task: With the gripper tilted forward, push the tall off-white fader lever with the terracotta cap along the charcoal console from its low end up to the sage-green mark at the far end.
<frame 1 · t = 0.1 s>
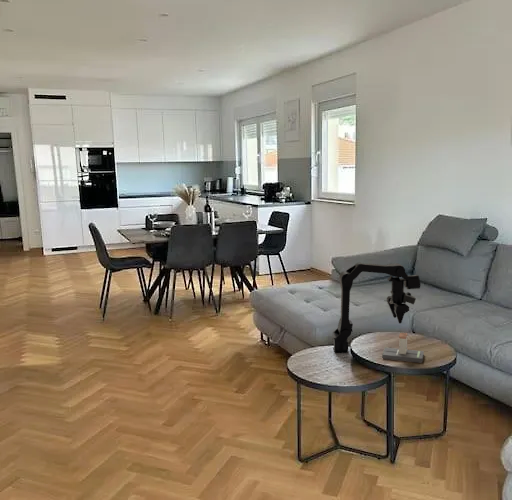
hand: (397, 320, 244), 14 cm above the table, tool pointing down, fingers open, 9 cm apart
fader: (403, 343, 235), point 7 cm above the table, slide at 0.0 cm
console: (400, 356, 236), on the table
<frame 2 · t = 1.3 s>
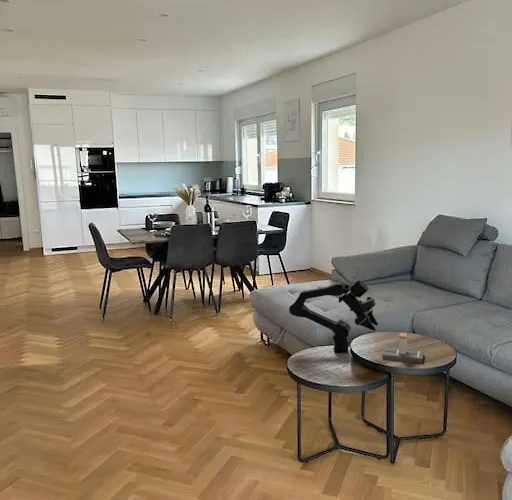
hand: (376, 327, 238), 13 cm above the table, tool tilted 45°, fingers open, 8 cm apart
nothing on the table moved.
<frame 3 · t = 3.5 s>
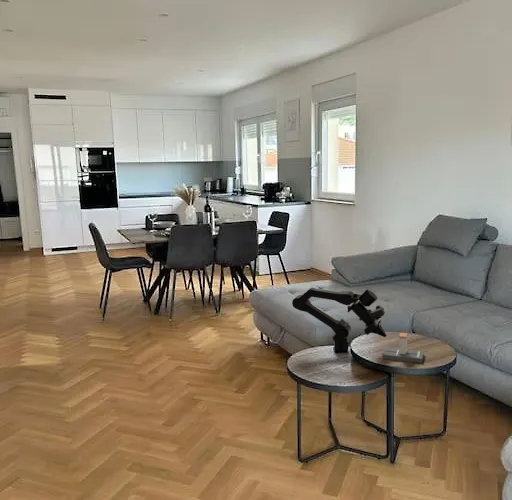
hand: (385, 336, 237), 9 cm above the table, tool tilted 45°, fingers closed
nothing on the table moved.
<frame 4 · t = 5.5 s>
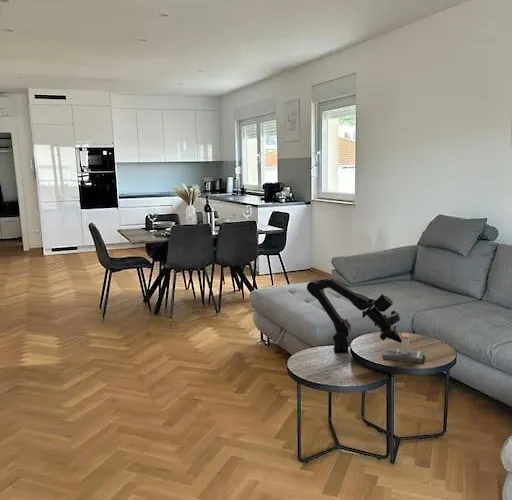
hand: (401, 341, 235), 7 cm above the table, tool tilted 45°, fingers closed, pressing on fader
fader: (405, 343, 234), point 7 cm above the table, slide at 1.0 cm, touching gripper
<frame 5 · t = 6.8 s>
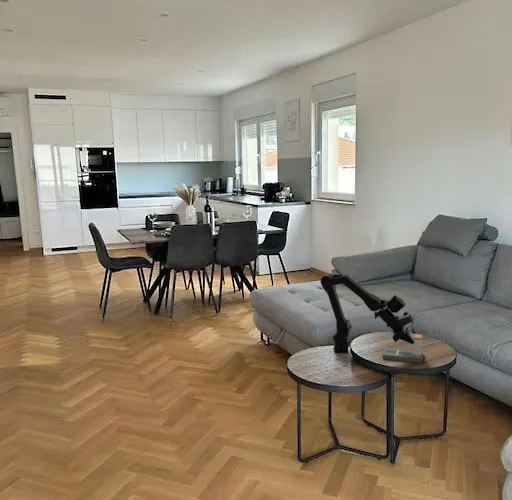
hand: (413, 343, 233), 7 cm above the table, tool tilted 45°, fingers closed, pressing on fader
fader: (417, 344, 232), point 7 cm above the table, slide at 6.7 cm, touching gripper
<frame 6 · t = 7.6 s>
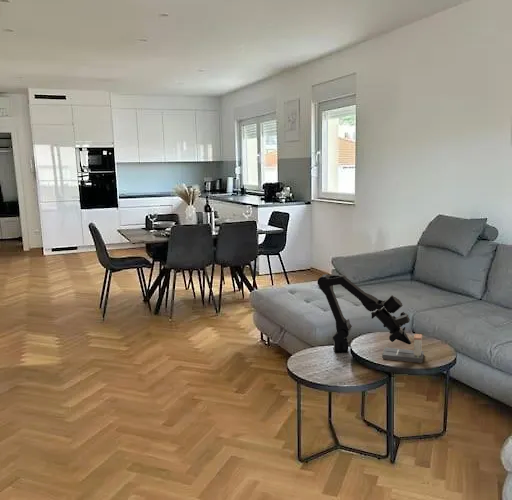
hand: (410, 343, 233), 7 cm above the table, tool tilted 45°, fingers closed
fader: (417, 344, 232), point 7 cm above the table, slide at 6.7 cm
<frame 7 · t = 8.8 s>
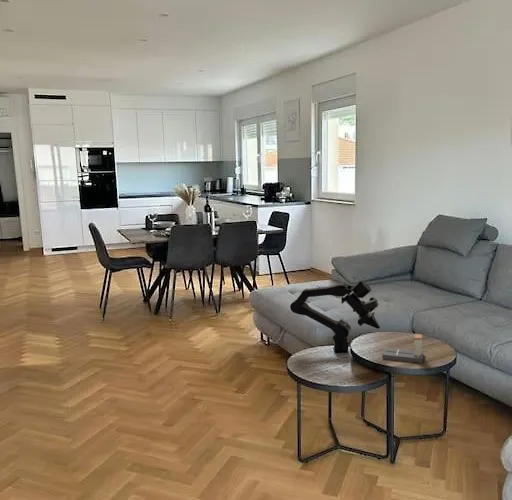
hand: (379, 328, 238), 13 cm above the table, tool tilted 45°, fingers closed
nothing on the table moved.
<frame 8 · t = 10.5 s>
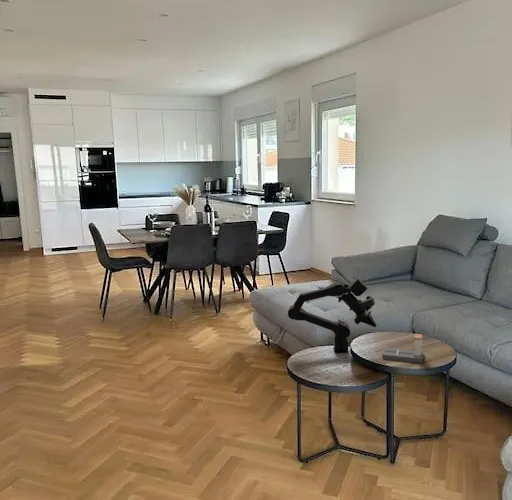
hand: (375, 326, 239), 14 cm above the table, tool tilted 45°, fingers closed
nothing on the table moved.
at the end: fader slide at 6.7 cm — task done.
